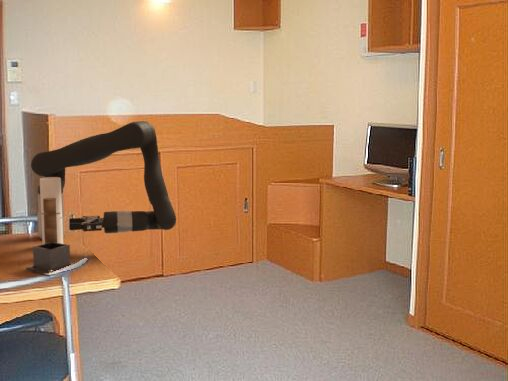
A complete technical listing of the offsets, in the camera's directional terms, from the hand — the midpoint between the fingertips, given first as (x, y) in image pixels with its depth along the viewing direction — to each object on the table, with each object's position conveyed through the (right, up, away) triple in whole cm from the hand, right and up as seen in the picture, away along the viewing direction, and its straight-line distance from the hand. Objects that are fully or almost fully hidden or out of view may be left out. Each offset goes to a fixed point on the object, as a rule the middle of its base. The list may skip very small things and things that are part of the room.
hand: (69, 224), depth 207 cm
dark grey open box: (-1, -13, -15) cm, 20 cm away
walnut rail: (-6, -11, 0) cm, 13 cm away
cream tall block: (-10, -9, +14) cm, 19 cm away
